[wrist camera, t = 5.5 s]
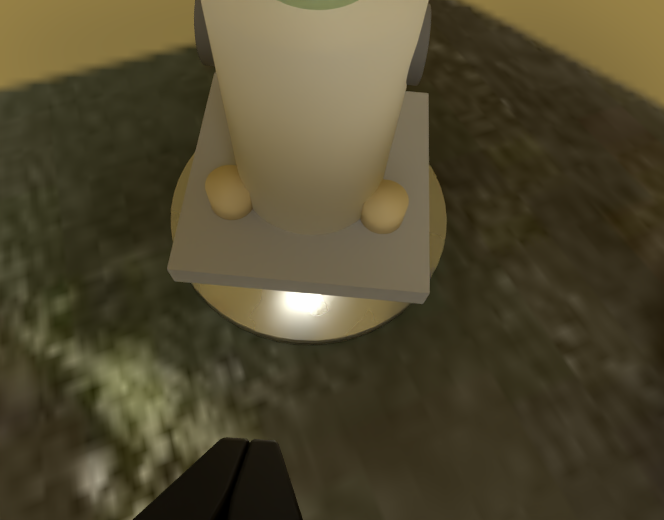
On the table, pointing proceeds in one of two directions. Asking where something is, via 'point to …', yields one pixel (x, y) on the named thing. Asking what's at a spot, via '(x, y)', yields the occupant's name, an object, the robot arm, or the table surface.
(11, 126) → the table surface
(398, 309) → the levelling stand
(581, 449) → the table surface
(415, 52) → the yellow cylinder stand
